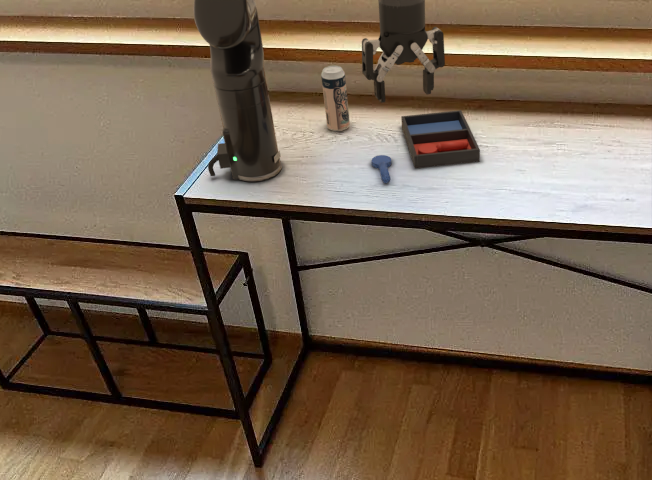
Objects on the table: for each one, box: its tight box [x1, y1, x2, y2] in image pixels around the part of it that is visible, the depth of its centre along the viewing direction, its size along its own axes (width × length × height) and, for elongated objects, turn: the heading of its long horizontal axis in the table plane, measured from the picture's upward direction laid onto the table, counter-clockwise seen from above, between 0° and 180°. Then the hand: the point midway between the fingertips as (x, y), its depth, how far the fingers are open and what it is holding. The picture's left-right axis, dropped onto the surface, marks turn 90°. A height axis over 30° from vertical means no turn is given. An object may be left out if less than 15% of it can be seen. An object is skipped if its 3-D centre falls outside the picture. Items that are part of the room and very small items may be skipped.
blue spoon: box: [371, 154, 392, 184], centre depth 134 cm, size 10×4×2 cm, turn 8°
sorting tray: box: [400, 109, 481, 169], centre depth 140 cm, size 13×18×2 cm
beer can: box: [320, 65, 351, 132], centre depth 144 cm, size 5×5×12 cm
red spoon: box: [418, 141, 468, 155], centre depth 137 cm, size 10×4×2 cm, turn 98°
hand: (404, 96), depth 125 cm, fingers open, 8 cm apart
